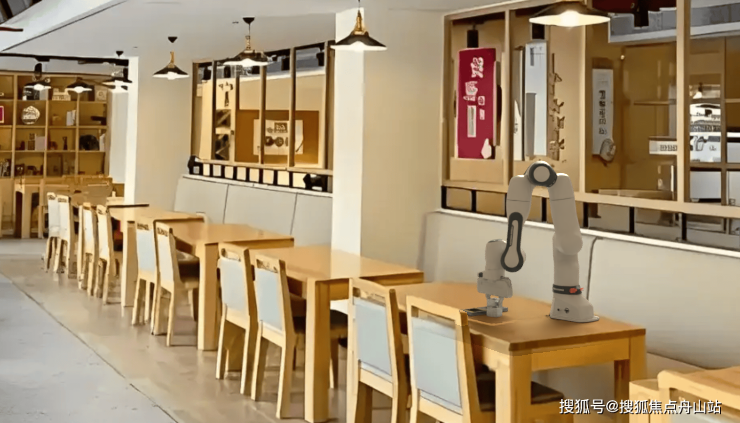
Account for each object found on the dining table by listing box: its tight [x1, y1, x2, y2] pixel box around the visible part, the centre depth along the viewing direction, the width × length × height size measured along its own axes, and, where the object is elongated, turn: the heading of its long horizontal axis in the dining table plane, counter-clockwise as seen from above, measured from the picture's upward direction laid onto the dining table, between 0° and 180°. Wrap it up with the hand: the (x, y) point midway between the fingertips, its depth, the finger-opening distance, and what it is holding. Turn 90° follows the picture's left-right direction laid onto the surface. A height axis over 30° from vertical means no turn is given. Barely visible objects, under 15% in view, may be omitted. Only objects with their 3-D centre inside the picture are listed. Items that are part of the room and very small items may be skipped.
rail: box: [460, 305, 509, 317], centre depth 391 cm, size 8×22×3 cm, turn 125°
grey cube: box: [486, 297, 503, 307], centre depth 395 cm, size 5×5×5 cm
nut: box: [486, 306, 503, 318], centre depth 383 cm, size 5×5×5 cm
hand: (494, 305), depth 395 cm, fingers closed on grey cube, 5 cm apart
